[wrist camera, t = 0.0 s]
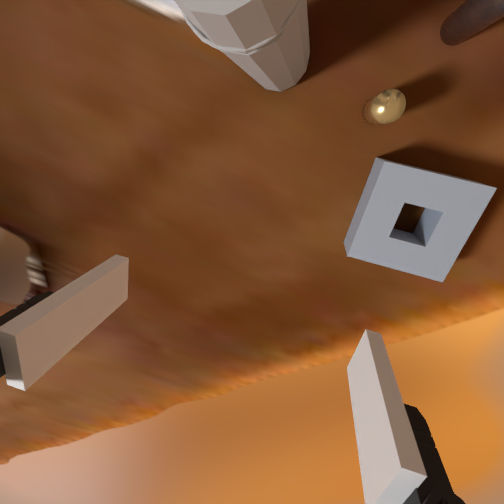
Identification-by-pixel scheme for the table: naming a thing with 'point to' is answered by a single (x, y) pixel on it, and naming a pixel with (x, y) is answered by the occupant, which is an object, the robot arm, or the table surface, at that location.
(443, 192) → the socket block
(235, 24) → the water bottle
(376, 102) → the short pin
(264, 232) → the table surface
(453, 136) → the table surface
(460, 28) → the long pin
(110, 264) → the robot arm
